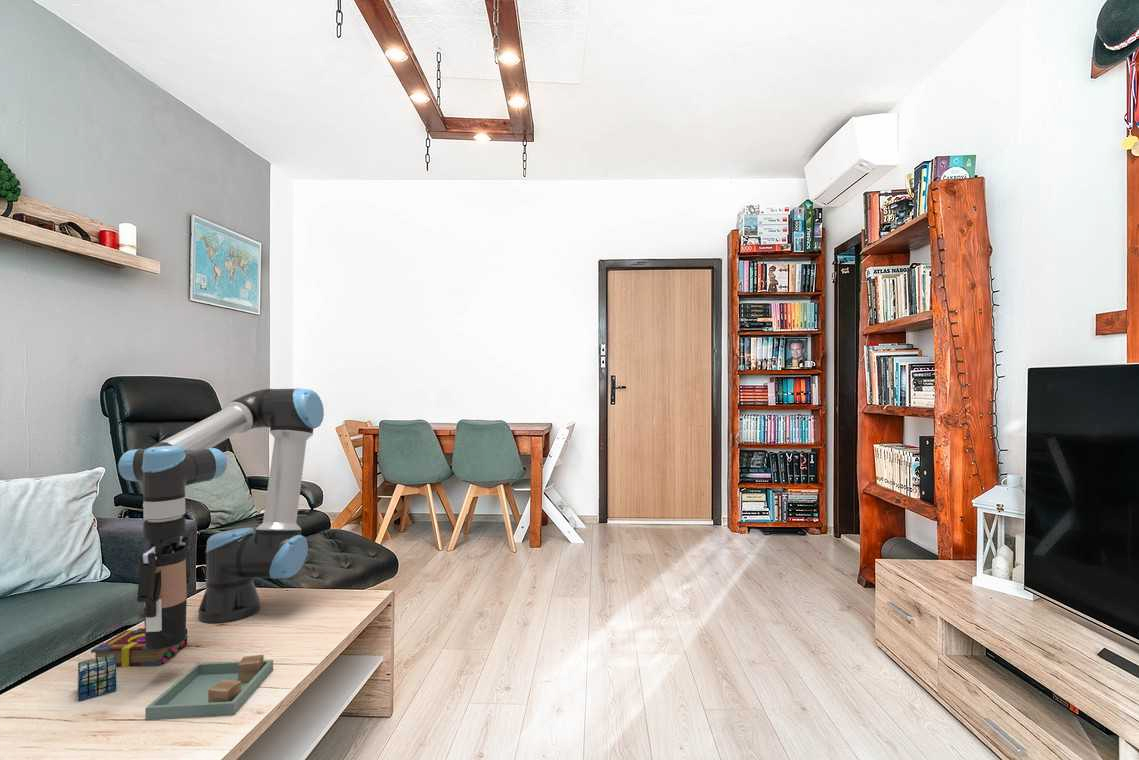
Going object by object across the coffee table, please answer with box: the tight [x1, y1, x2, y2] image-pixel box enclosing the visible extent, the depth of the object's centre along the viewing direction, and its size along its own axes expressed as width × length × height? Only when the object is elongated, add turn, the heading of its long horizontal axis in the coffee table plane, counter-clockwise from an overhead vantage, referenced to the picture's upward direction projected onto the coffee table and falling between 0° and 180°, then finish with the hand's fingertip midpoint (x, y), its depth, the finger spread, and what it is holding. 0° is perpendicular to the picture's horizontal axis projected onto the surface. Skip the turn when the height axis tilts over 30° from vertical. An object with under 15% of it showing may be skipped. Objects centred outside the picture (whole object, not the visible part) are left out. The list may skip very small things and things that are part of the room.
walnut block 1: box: [208, 680, 242, 703], centre depth 114 cm, size 4×4×4 cm
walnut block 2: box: [238, 654, 265, 683], centre depth 125 cm, size 4×4×4 cm
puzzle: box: [77, 654, 117, 702], centre depth 121 cm, size 6×6×6 cm
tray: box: [144, 659, 274, 721], centre depth 119 cm, size 18×16×3 cm
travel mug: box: [143, 545, 188, 649], centre depth 125 cm, size 8×8×20 cm
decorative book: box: [90, 627, 189, 668], centre depth 137 cm, size 11×16×5 cm
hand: (165, 622), depth 125 cm, fingers closed on travel mug, 8 cm apart
